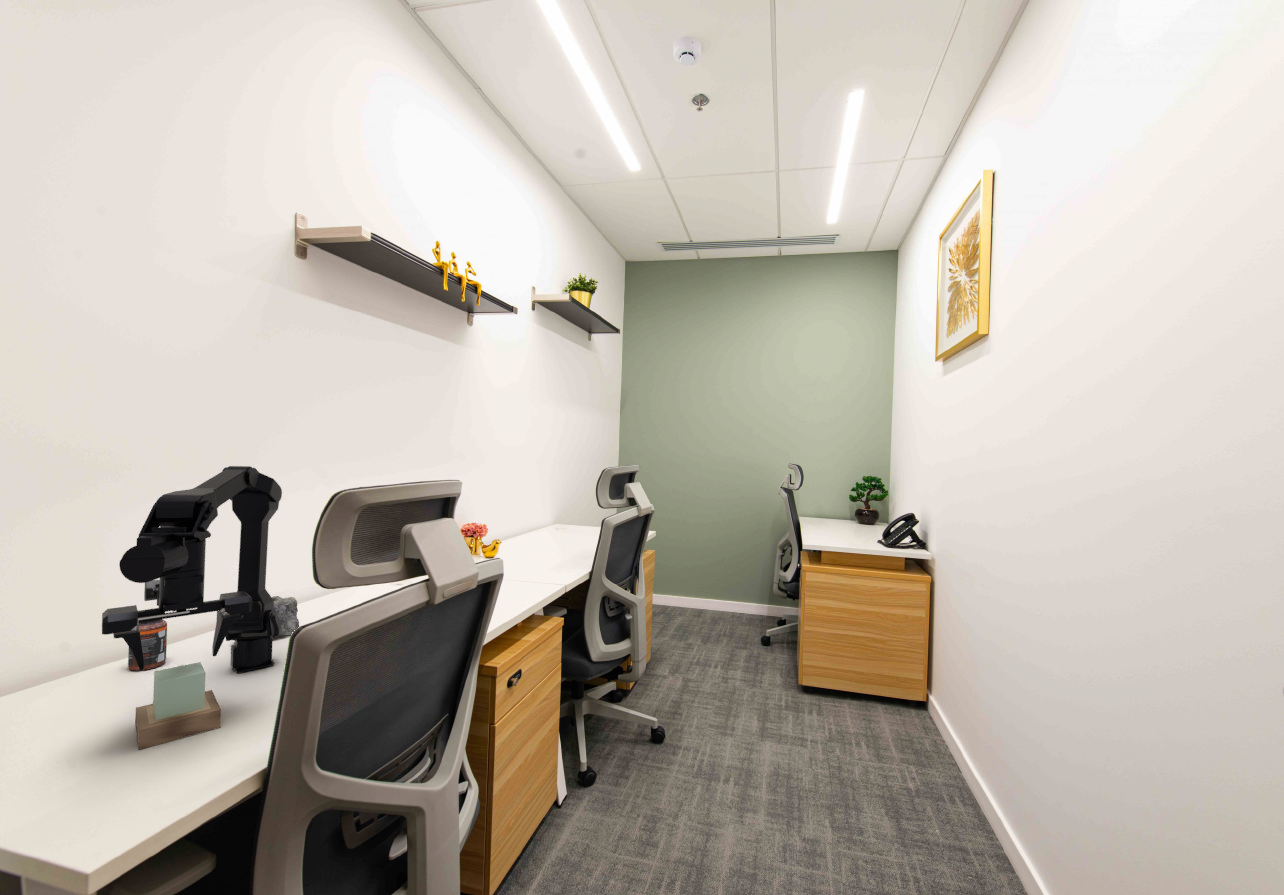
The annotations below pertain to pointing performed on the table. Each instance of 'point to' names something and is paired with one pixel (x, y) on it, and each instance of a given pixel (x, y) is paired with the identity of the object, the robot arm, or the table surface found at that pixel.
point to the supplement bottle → (151, 645)
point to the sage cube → (178, 690)
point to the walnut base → (175, 723)
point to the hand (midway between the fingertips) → (179, 662)
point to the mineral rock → (286, 614)
